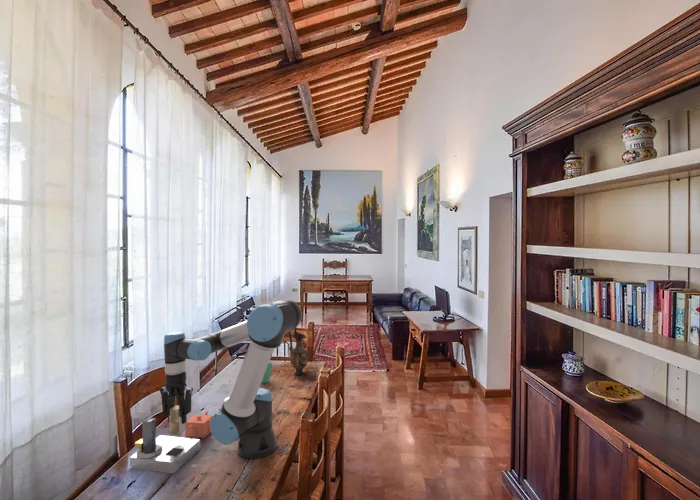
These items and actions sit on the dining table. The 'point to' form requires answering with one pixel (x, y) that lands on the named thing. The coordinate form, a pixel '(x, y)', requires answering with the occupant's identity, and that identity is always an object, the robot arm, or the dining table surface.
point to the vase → (298, 354)
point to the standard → (148, 440)
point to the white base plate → (168, 454)
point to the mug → (267, 374)
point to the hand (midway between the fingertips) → (177, 430)
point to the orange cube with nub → (198, 426)
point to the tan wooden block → (174, 419)
